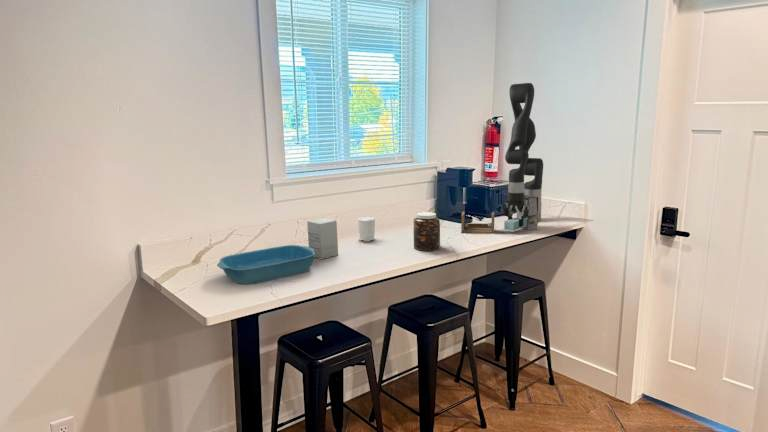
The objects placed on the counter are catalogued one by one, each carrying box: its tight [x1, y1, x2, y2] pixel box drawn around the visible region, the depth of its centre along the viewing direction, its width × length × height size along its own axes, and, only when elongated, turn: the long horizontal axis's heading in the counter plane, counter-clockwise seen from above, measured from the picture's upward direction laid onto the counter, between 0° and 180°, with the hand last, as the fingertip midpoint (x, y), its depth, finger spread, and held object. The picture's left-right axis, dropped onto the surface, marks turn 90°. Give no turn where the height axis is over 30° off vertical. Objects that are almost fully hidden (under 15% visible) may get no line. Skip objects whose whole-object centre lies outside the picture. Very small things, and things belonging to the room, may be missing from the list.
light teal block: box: [503, 216, 527, 231], centre depth 252 cm, size 5×12×4 cm, turn 134°
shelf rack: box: [460, 211, 495, 235], centre depth 255 cm, size 9×16×9 cm, turn 79°
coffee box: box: [516, 195, 539, 231], centre depth 259 cm, size 9×6×16 cm
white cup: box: [357, 216, 376, 242], centre depth 243 cm, size 8×8×10 cm
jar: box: [413, 211, 441, 252], centre depth 225 cm, size 12×12×15 cm
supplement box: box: [306, 217, 339, 260], centre depth 216 cm, size 9×9×15 cm
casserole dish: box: [216, 244, 315, 285], centre depth 194 cm, size 37×22×7 cm, turn 125°
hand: (515, 225), depth 252 cm, fingers closed on light teal block, 5 cm apart
